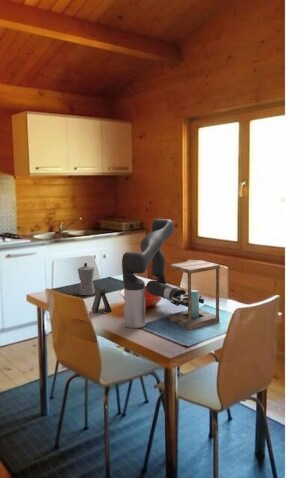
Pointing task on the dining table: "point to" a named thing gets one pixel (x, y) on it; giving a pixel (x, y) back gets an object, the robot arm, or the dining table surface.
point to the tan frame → (185, 316)
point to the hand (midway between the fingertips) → (196, 302)
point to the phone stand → (97, 302)
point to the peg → (194, 304)
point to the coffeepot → (86, 280)
